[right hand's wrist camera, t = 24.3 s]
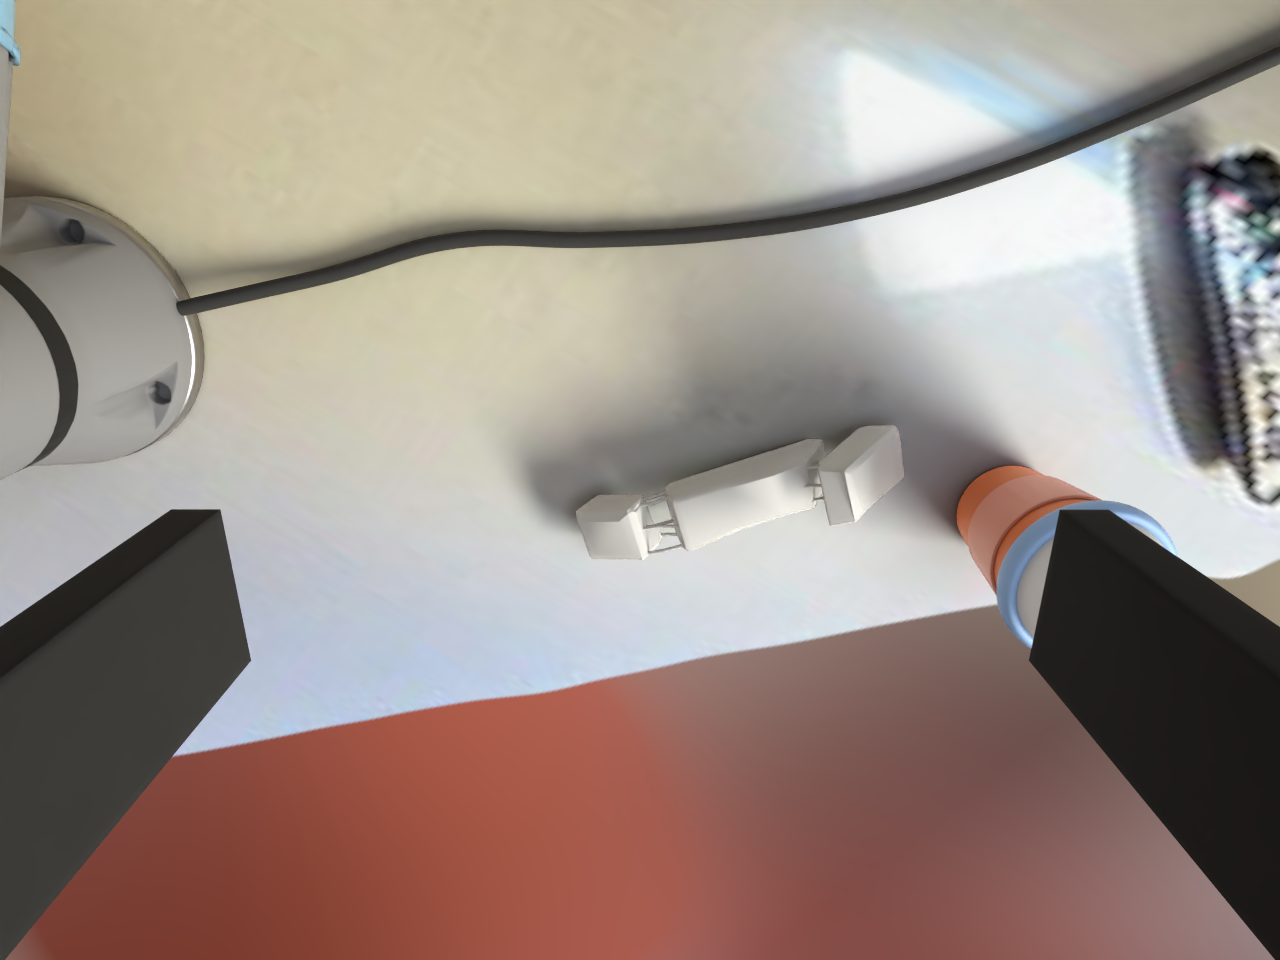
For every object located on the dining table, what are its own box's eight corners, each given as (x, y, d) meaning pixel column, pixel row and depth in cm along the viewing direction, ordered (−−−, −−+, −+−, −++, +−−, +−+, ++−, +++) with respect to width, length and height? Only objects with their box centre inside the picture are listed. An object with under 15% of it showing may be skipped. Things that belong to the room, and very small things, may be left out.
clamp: (891, 414, 48) (917, 451, 41) (901, 470, 49) (928, 514, 43) (582, 487, 52) (563, 531, 45) (599, 537, 53) (582, 587, 46)
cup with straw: (908, 489, 50) (1044, 643, 33) (1041, 415, 48) (1257, 537, 31) (968, 595, 53) (1122, 787, 36) (1096, 528, 51) (1322, 697, 34)
